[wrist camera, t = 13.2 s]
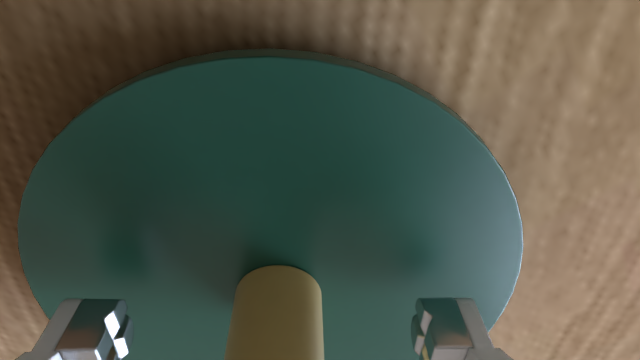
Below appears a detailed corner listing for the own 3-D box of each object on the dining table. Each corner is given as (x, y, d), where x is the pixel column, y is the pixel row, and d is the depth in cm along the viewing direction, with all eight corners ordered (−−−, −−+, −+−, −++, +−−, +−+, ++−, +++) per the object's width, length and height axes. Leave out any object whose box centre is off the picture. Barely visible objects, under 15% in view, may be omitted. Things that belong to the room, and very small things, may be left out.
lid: (267, -122, 8) (231, -138, 4) (586, 264, 14) (692, 403, 10) (-45, 266, 13) (-188, 418, 9) (286, 423, 20) (281, 554, 16)
